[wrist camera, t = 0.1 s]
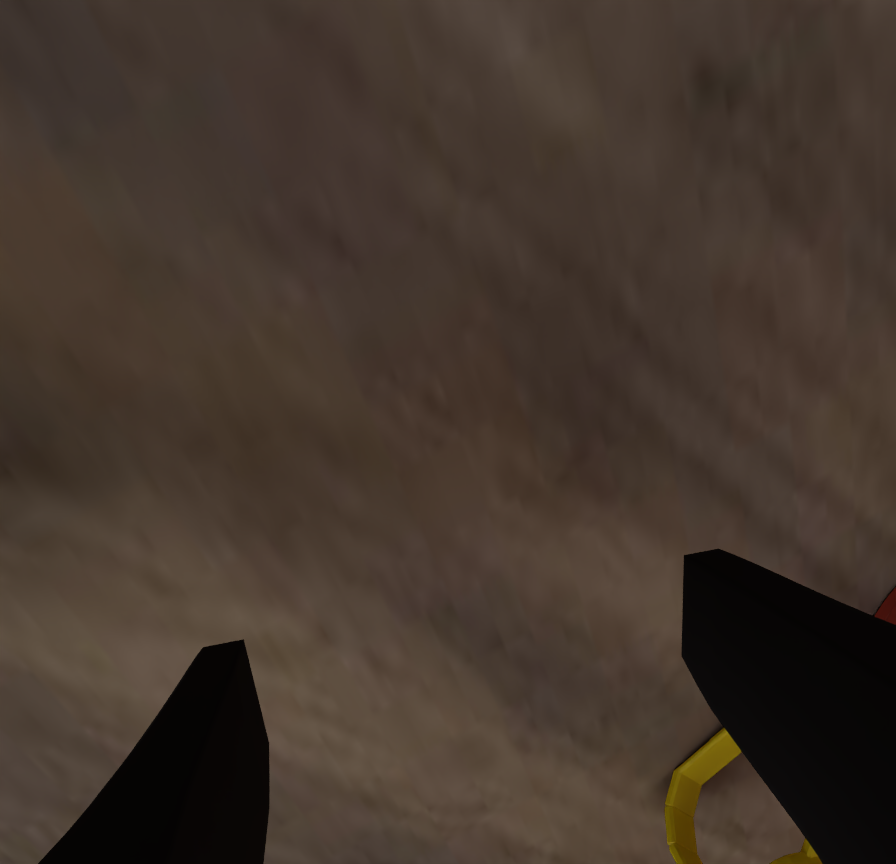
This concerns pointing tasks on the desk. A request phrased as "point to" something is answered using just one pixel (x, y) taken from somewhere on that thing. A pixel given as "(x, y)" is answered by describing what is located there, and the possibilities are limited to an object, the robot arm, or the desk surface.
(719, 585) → the robot arm
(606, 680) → the desk surface
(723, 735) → the watch
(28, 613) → the desk surface
